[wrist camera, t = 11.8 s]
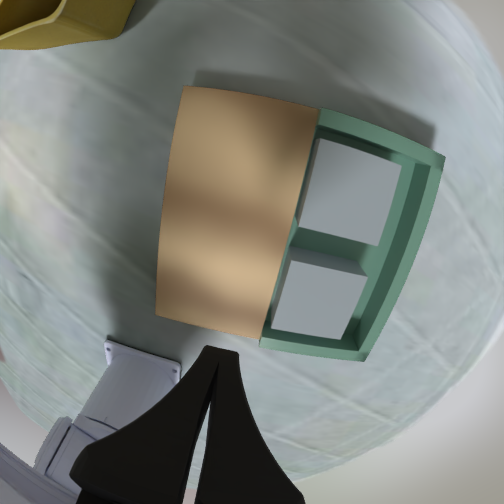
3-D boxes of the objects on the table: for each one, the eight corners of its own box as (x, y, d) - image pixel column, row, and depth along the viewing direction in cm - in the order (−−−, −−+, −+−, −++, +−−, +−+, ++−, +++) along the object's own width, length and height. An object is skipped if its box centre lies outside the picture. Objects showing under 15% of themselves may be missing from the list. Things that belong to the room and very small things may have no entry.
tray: (357, 342, 21) (364, 361, 19) (260, 326, 21) (258, 347, 19) (426, 154, 15) (445, 156, 13) (314, 112, 15) (322, 107, 13)
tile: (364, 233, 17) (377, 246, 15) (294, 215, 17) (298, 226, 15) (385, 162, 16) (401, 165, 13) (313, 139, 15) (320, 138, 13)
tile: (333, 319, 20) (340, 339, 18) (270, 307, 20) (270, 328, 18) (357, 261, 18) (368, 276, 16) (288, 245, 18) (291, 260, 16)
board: (260, 326, 21) (259, 339, 20) (162, 303, 21) (155, 314, 19) (314, 112, 15) (319, 109, 14) (191, 90, 15) (183, 85, 14)
